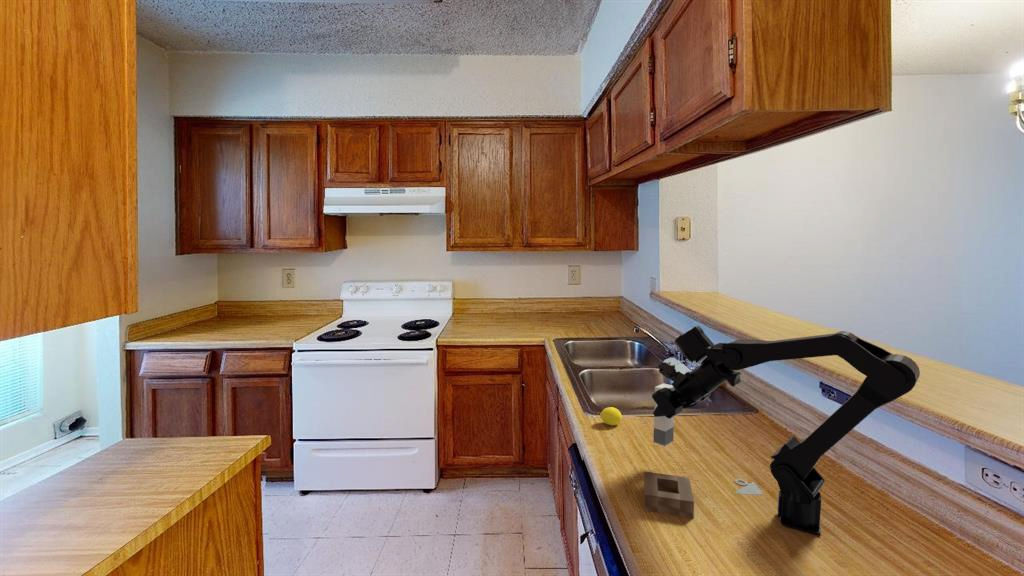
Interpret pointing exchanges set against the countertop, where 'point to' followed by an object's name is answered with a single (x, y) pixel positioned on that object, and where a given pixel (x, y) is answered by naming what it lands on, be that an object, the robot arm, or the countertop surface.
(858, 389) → the robot arm
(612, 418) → the lemon
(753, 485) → the grey triangular pendant
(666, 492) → the post base
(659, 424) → the rail post
